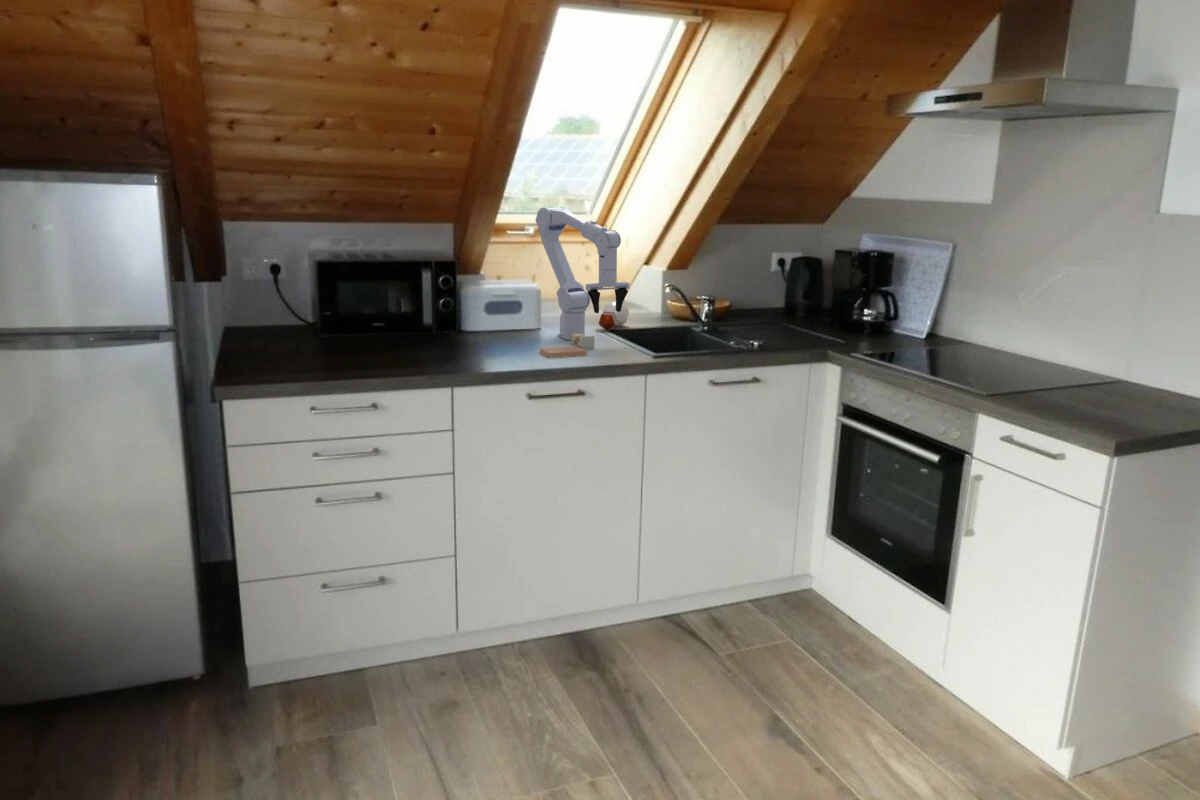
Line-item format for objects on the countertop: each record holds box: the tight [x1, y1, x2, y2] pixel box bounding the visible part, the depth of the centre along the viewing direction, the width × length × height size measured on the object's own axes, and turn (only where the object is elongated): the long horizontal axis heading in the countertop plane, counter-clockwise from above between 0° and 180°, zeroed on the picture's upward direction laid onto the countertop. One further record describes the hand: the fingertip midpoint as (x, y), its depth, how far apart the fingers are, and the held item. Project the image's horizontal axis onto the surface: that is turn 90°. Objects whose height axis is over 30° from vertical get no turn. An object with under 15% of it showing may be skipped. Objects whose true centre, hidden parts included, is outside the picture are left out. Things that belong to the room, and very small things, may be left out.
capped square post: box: [570, 334, 596, 350], centre depth 280 cm, size 11×4×4 cm, turn 23°
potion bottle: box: [598, 300, 630, 330], centre depth 313 cm, size 9×10×15 cm
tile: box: [539, 345, 587, 359], centre depth 267 cm, size 2×12×8 cm
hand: (607, 312), depth 282 cm, fingers open, 7 cm apart
